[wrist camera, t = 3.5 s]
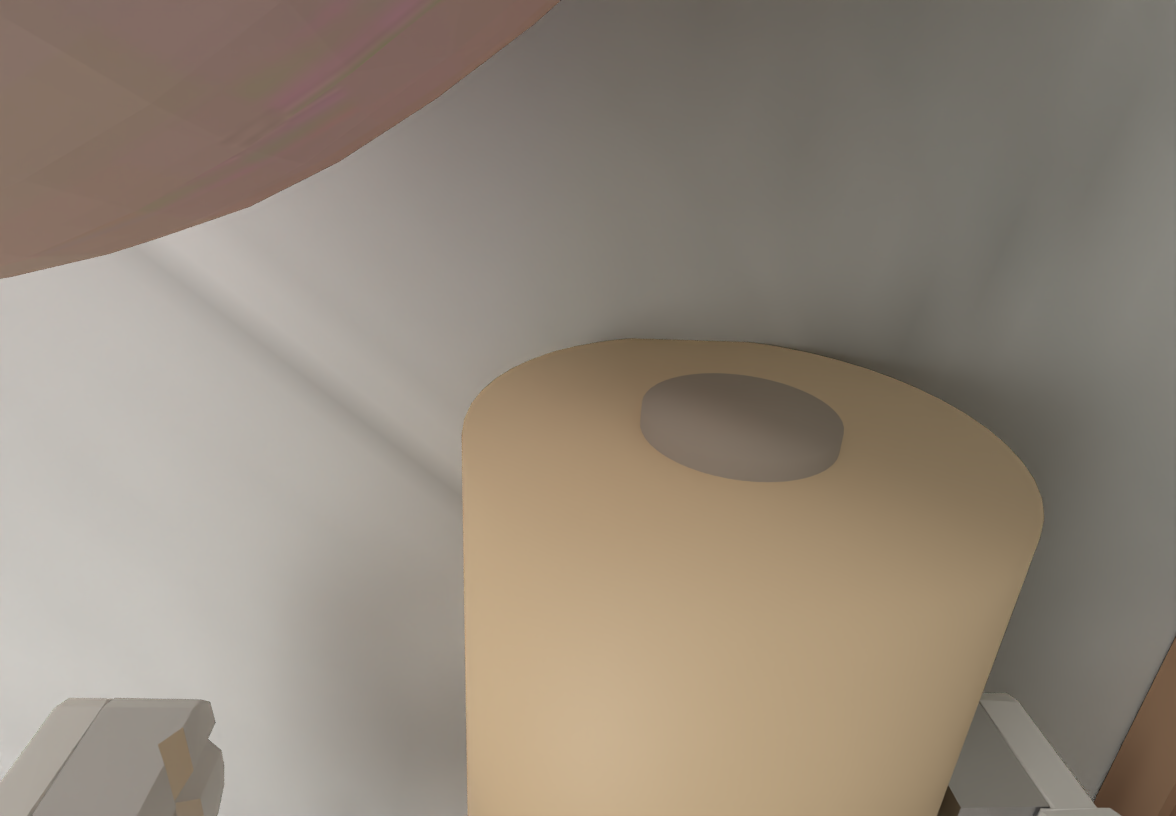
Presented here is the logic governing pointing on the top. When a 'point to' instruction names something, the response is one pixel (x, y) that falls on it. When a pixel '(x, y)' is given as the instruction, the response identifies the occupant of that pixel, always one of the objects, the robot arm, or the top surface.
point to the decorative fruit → (206, 105)
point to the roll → (728, 583)
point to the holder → (1147, 754)
